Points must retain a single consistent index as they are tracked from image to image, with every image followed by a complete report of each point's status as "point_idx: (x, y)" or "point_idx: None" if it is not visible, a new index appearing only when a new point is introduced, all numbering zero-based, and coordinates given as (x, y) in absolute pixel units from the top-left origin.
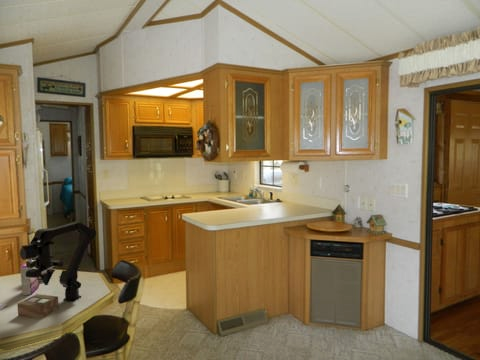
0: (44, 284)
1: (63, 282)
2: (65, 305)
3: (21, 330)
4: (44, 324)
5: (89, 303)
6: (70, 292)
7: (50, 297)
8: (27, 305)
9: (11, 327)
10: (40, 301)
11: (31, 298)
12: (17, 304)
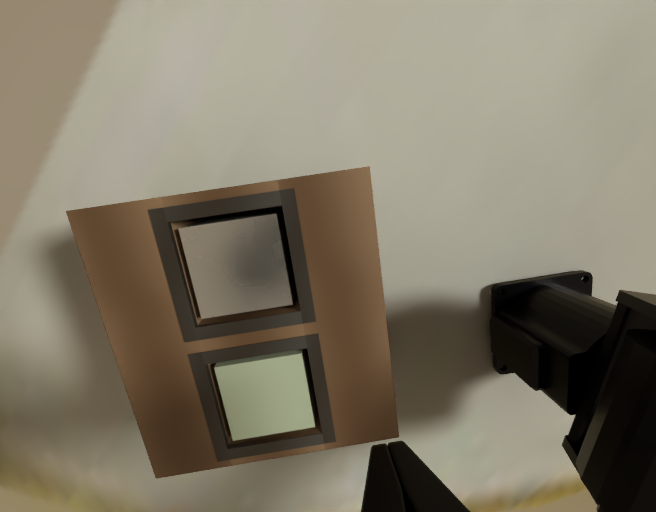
0: (370, 457)
1: (628, 454)
2: (425, 371)
3: (38, 432)
4: (167, 479)
5: (501, 476)
6: (547, 393)
7: (354, 391)
8: (116, 347)
9: (15, 340)
10: (243, 383)
11: (248, 225)
12: (75, 211)
